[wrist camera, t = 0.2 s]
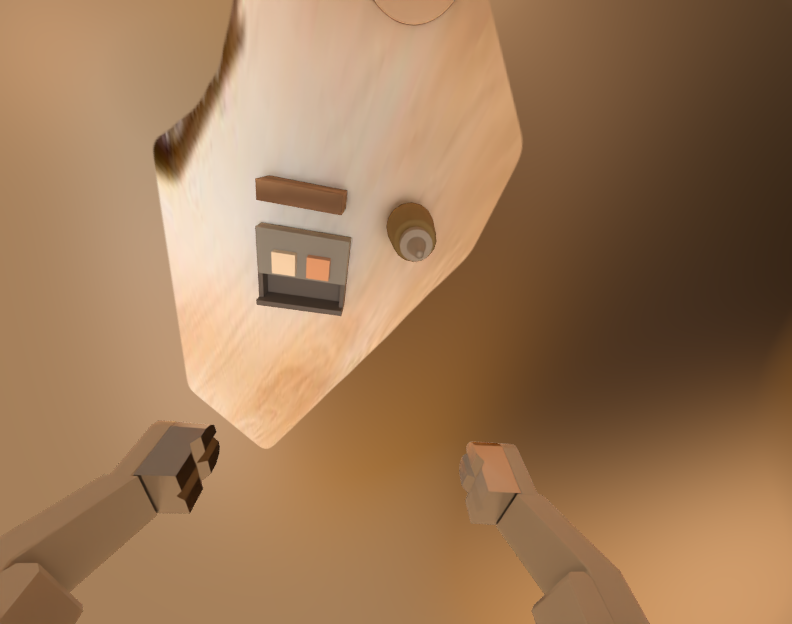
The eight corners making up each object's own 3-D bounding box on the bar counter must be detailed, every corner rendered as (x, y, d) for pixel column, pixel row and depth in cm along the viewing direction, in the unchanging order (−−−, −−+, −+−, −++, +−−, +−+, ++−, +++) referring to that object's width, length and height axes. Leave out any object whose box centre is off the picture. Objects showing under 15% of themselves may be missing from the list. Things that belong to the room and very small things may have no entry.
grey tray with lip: (261, 222, 51) (251, 228, 47) (351, 237, 53) (348, 244, 49) (265, 294, 58) (256, 304, 54) (343, 305, 60) (341, 316, 56)
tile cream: (274, 249, 51) (271, 251, 49) (297, 252, 51) (294, 255, 50) (274, 270, 52) (271, 273, 51) (296, 273, 53) (294, 276, 52)
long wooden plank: (269, 175, 48) (255, 178, 42) (347, 190, 49) (343, 195, 44) (269, 194, 49) (256, 199, 44) (345, 208, 51) (341, 215, 45)
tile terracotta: (308, 254, 51) (306, 257, 50) (331, 258, 52) (329, 261, 50) (307, 275, 53) (306, 278, 52) (329, 278, 54) (328, 281, 52)
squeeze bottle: (435, 235, 53) (457, 271, 38) (395, 250, 55) (400, 291, 39) (422, 192, 50) (440, 212, 34) (379, 209, 51) (378, 236, 35)
